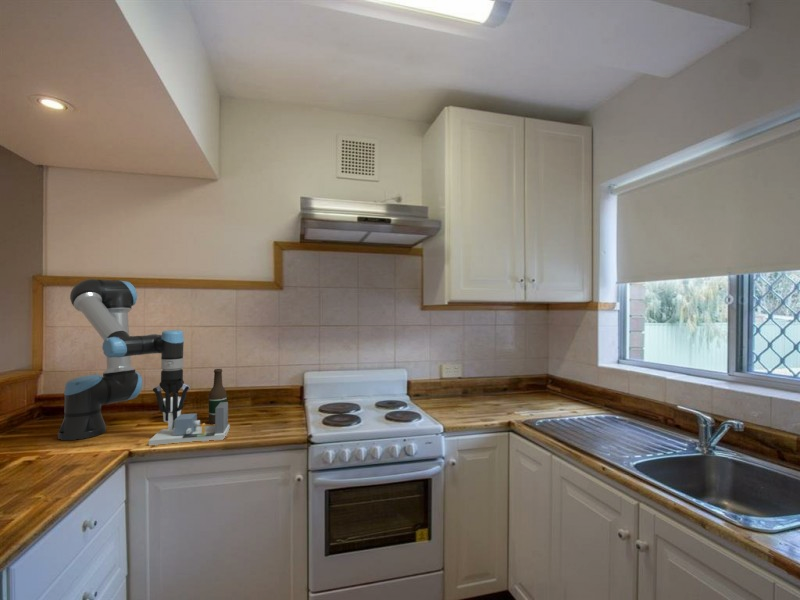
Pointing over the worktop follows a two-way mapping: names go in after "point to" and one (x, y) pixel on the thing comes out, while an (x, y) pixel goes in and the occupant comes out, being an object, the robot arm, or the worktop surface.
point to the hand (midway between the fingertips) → (171, 428)
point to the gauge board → (198, 430)
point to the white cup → (171, 408)
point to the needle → (203, 428)
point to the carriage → (186, 424)
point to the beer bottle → (216, 395)
